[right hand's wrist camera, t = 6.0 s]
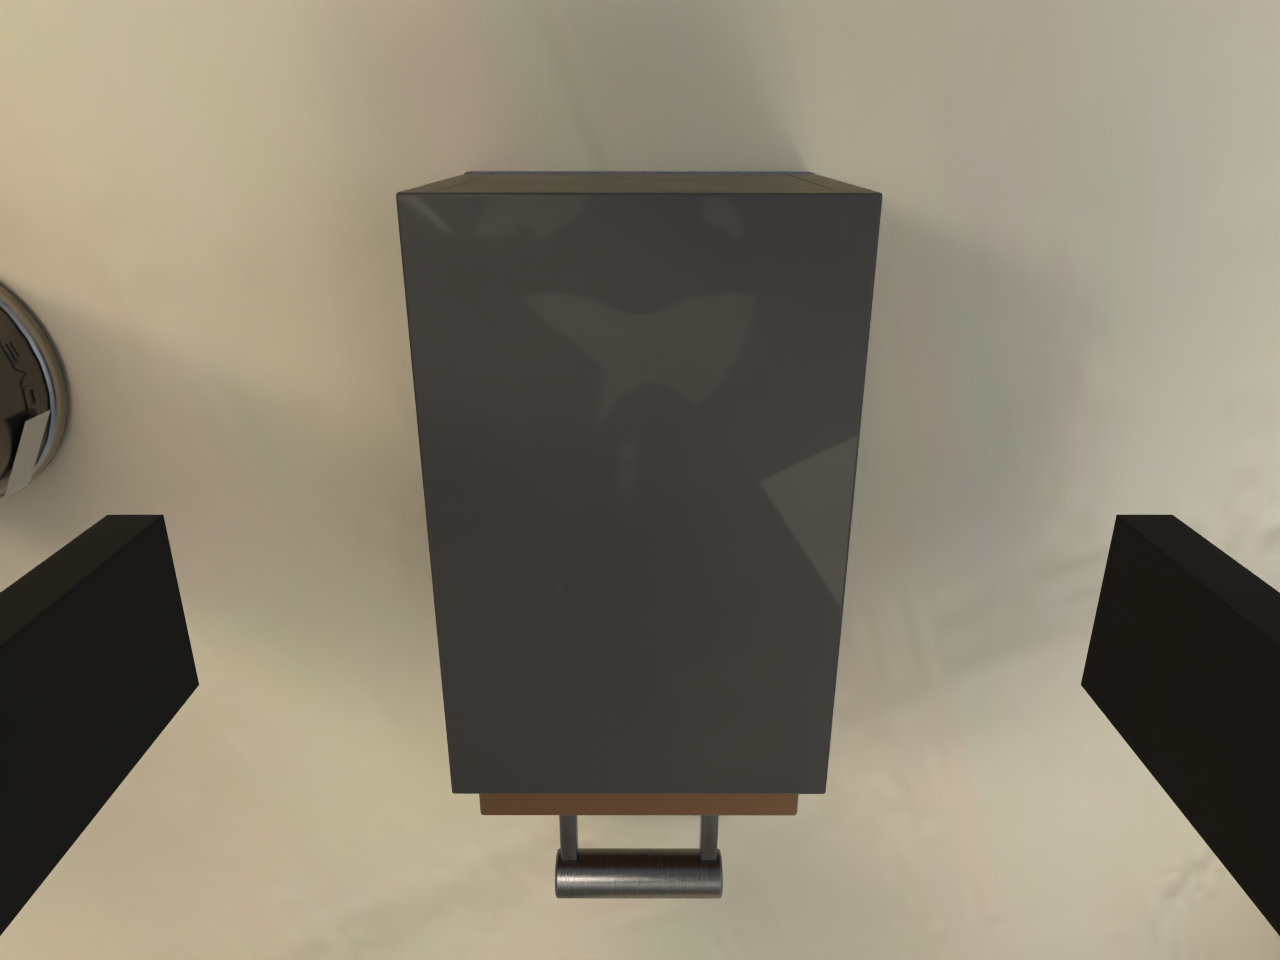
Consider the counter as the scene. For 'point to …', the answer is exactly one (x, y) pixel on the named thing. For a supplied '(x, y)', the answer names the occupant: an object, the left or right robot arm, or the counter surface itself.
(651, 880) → the drawer
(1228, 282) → the counter surface
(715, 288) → the cabinet
